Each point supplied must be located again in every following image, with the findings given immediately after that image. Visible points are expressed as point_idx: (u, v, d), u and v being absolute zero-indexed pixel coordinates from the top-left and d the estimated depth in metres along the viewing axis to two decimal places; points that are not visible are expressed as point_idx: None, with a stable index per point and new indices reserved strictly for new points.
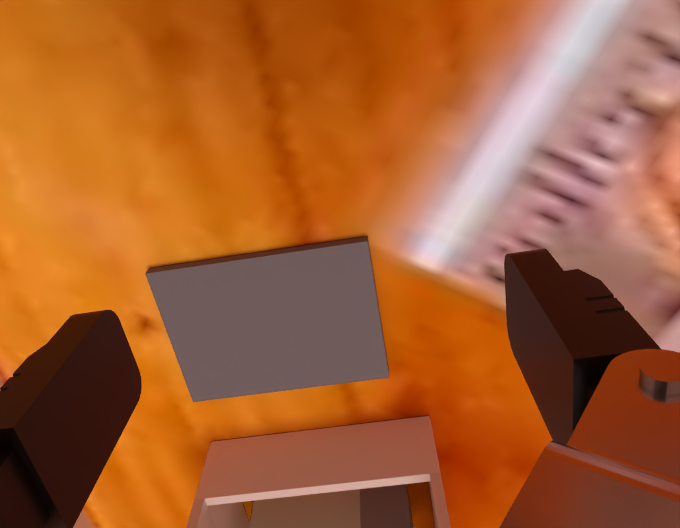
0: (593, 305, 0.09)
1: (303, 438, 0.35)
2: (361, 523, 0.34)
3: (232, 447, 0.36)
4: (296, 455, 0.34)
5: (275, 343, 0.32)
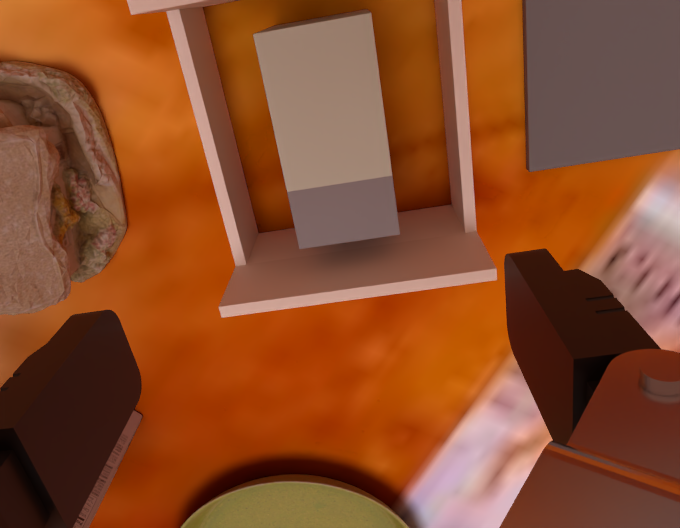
0: (593, 305, 0.09)
1: None
2: None
3: None
4: None
5: (593, 50, 0.29)
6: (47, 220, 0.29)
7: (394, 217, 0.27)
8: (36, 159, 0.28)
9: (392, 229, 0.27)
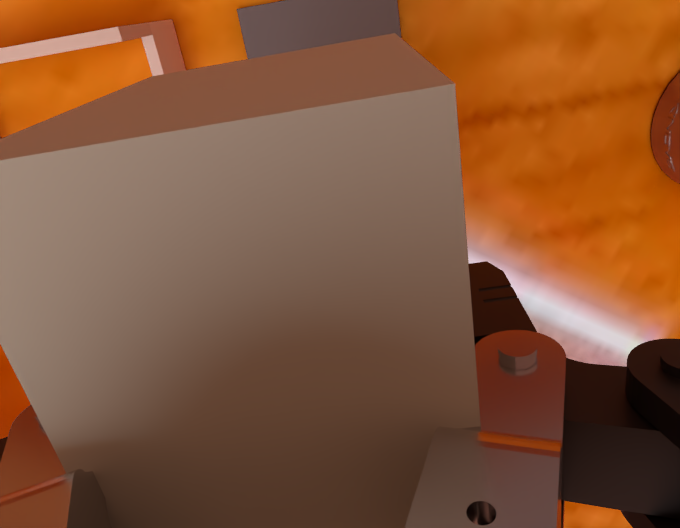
0: (490, 294, 0.10)
1: None
2: None
3: (176, 49, 0.32)
4: None
5: None
6: None
7: None
8: None
9: None
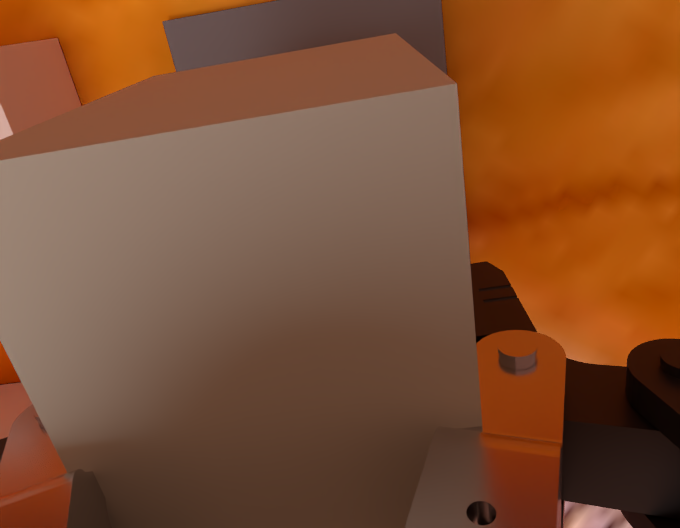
0: (490, 293, 0.10)
1: None
2: None
3: (64, 88, 0.19)
4: None
5: None
6: None
7: None
8: None
9: None
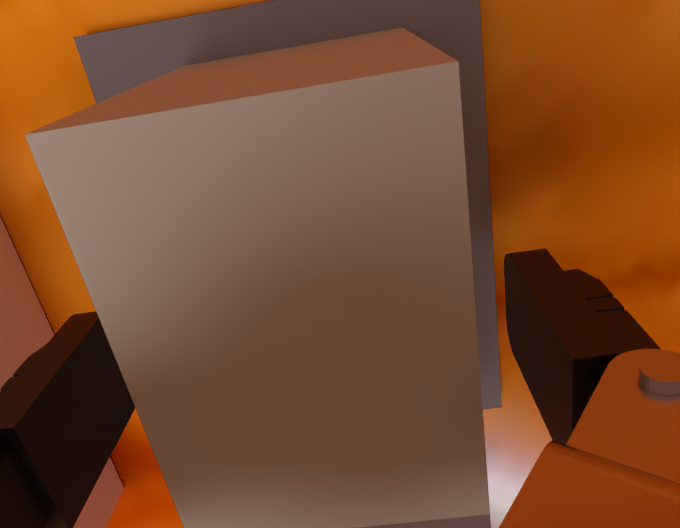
0: (593, 305, 0.09)
1: (19, 297, 0.15)
2: None
3: None
4: None
5: None
6: None
7: None
8: None
9: None
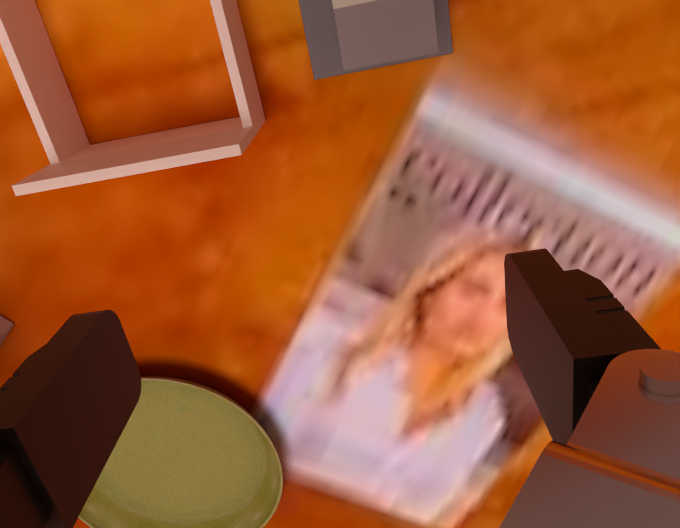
0: (593, 305, 0.09)
1: None
2: None
3: None
4: None
5: None
6: None
7: (433, 34, 0.29)
8: None
9: (431, 47, 0.29)
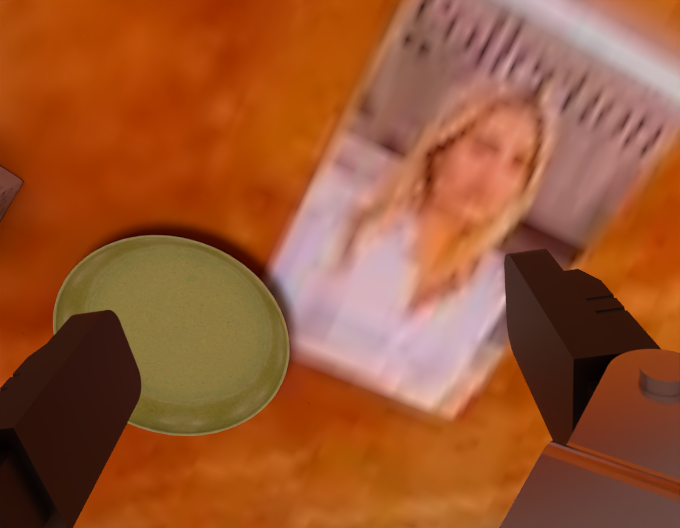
0: (593, 305, 0.09)
1: None
2: None
3: None
4: None
5: None
6: None
7: None
8: None
9: None
